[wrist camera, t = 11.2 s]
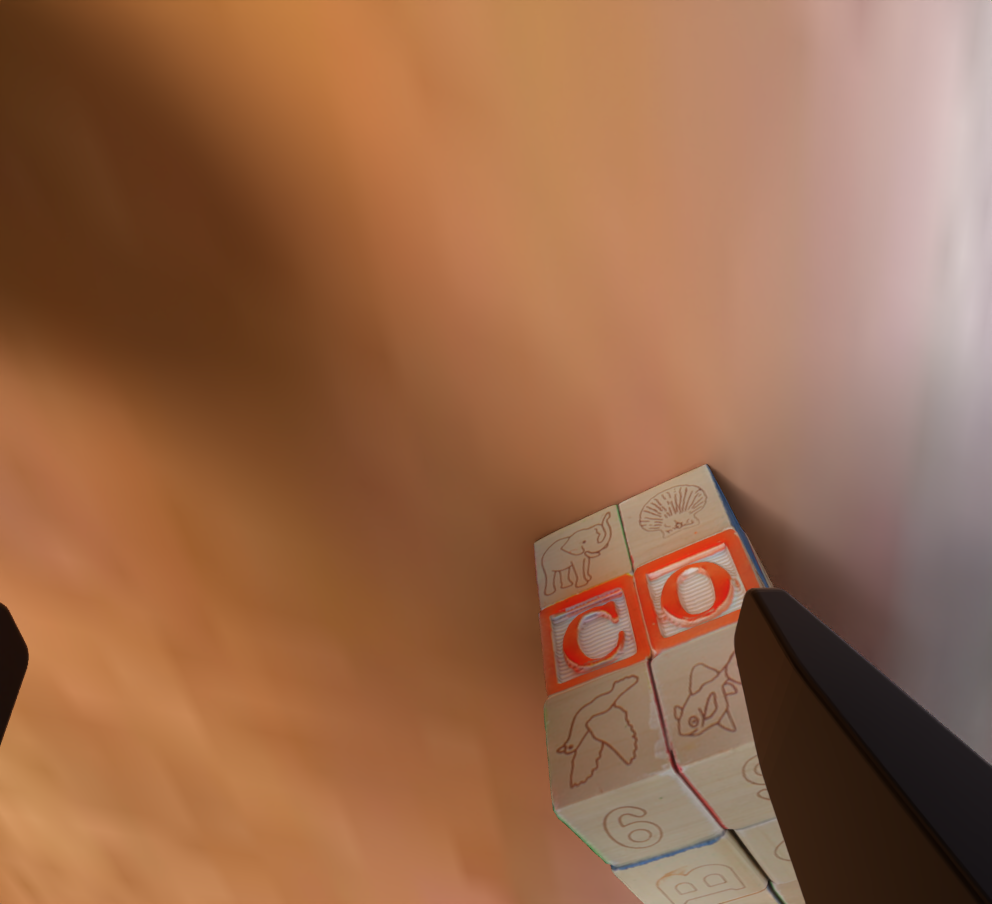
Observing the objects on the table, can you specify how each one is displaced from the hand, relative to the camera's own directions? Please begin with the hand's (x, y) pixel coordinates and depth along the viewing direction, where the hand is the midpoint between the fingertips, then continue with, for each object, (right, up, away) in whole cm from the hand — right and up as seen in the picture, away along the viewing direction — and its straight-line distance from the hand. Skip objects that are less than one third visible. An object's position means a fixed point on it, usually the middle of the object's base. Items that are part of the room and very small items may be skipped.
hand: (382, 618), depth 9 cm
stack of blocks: (+10, -7, +20) cm, 24 cm away
